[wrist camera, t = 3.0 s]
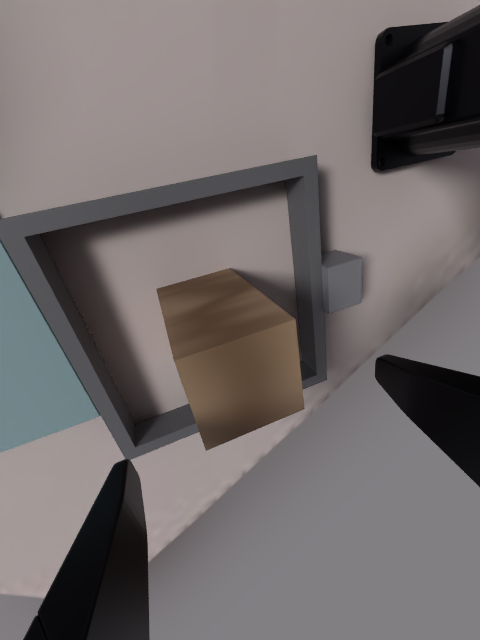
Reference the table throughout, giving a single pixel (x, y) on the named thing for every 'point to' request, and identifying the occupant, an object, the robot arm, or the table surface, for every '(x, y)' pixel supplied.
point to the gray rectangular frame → (302, 193)
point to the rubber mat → (33, 368)
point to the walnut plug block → (232, 354)
